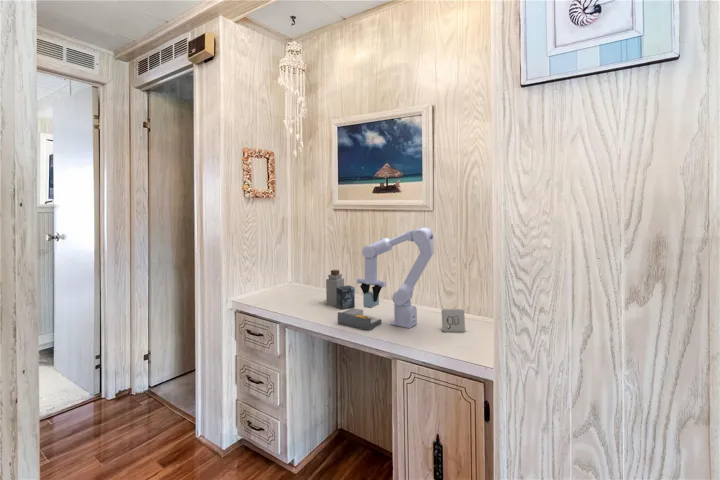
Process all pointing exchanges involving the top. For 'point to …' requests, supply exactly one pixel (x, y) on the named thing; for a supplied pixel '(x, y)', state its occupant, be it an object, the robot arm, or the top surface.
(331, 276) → the perfume bottle
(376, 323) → the rack bay
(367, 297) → the pale blue tall block
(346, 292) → the box
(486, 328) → the top surface
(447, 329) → the electrical switch
